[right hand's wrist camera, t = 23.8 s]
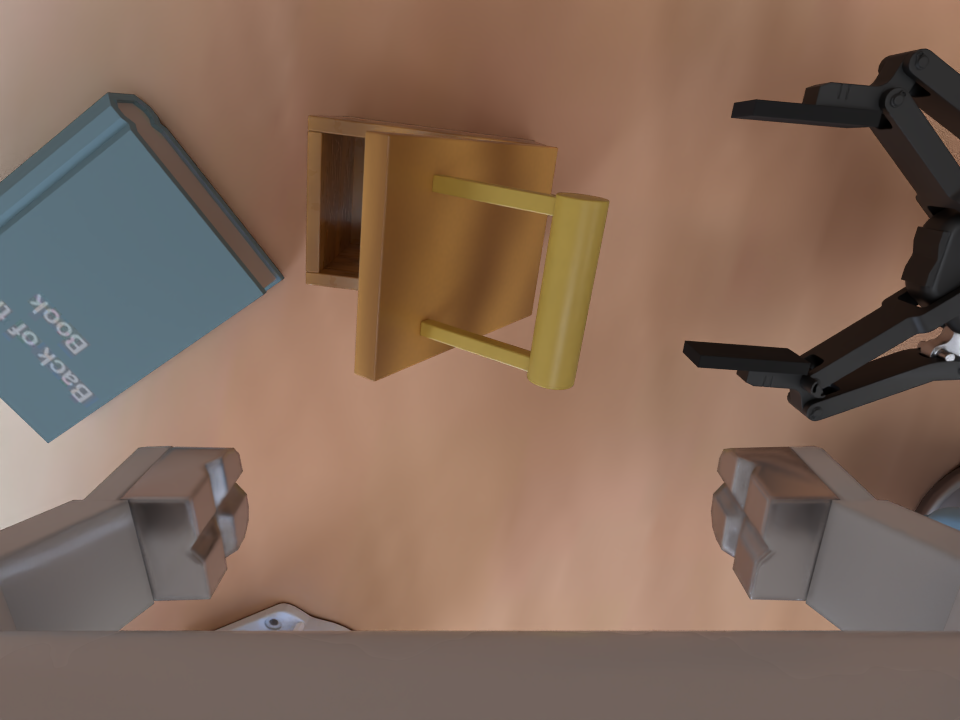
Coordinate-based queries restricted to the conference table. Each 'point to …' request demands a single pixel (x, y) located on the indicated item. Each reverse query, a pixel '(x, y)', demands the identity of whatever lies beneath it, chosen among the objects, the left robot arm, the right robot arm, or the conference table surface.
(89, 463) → the conference table surface
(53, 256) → the book
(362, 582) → the conference table surface
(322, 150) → the chest
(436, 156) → the lid
